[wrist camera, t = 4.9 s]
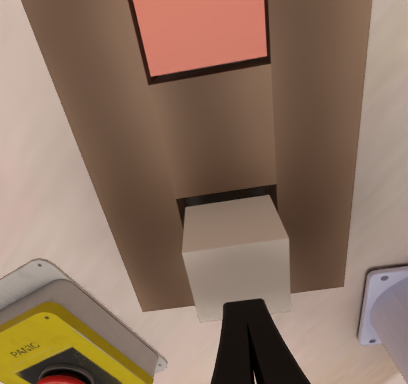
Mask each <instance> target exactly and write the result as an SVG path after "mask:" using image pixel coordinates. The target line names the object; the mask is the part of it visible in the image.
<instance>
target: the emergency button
mask: <svg viewBox="0 0 408 384" xmlns="http://www.w3.org/2000/svg"><path fill="white" fill-rule="evenodd" d="M166 368H167V361H166V359H165V358H164V357H162V356H161V355H160V354H159V353H158V352H157V351H155V350H154V349H153V348H152V347H151V346H150V345H148V344H147V343H146V342H145V341H144V340H143V339H141V338H140V337H139V336H138V335H137V334H136V333H134V332H133V331H132V330H131V329H130V328H129V327H127V326H126V325H125V324H124V323H123V322H122V321H120V320H119V319H118V318H117V317H116V316H115V315H113V314H112V313H111V312H110V311H109V310H108V309H106V308H105V307H104V306H103V305H102V304H101V303H99V302H98V301H97V300H96V299H95V298H94V297H92V296H91V295H90V294H89V293H88V292H87V291H85V290H84V289H83V288H82V287H81V286H79V285H78V284H77V283H76V282H75V281H74V280H72V279H71V278H70V277H69V276H68V275H67V274H65V273H64V272H63V271H62V270H61V269H60V268H58V267H57V266H56V265H55V264H53V263H52V262H50V261H48V260H45V259H40V258H39V259H34V260H32V261H30V262H28V263H27V264H25V265H23V266H21V267H20V268H18V269H16V270H15V271H13V272H11V273H10V274H8V275H6V276H5V277H3V278H1V279H0V382H2V383H4V384H152V383H153V380H154V379H153V377H154V374H155V373H158V372H160V371H163V370H164V369H166Z"/></svg>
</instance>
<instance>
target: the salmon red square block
mask: <svg viewBox="0 0 408 384" xmlns="http://www.w3.org/2000/svg"><path fill="white" fill-rule="evenodd" d="M133 2H134V7H135V11H136V15H137V19H138V24H139V28H140V32H141V36H142V41H143V45H144V49H145V54H146V58H147V62H148V66H149V71H150V75H151V77H152V76H158V75H163V74H169V73H174V72H180V71H186V70H191V69H197V68H203V67H208V66H214V65H219V64H225V63H231V62H236V61H242V60H247V59H253V58H259V57H264V56H267V48H266V29H265V9H264V0H133Z"/></svg>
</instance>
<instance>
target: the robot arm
mask: <svg viewBox="0 0 408 384" xmlns="http://www.w3.org/2000/svg"><path fill="white" fill-rule="evenodd" d="M358 341H359V343H360V344H361V345H374V344H383V345H384V346H385V348H386V350H387V351H388V353H389V355H390V356H391V358H392V360H393V361H394V363H395V365H396V366H397V368H398V369H399V371H400V373H401V374H402V376H403V378H404V379H405V381H406V383H407V384H408V266H404V267H396V268H388V269H381V270H374V271H371V272H370V273H369V274H368V276H367V281H366V287H365V294H364V300H363V307H362V314H361V320H360V327H359V334H358ZM254 374H255V378H256V382H257V384H311V383H310V382H309V381H308V379H307V378H306V376H305V375H304V373H303V371H302V370H301V368H300V367H299V365H298V364H297V362H296V360H295V359H294V357H293V355H292V354H291V352H290V350H289V349H288V347H287V346H286V344H285V342H284V340H283V339H282V337H281V335H280V333H279V331H278V329H277V328H276V326H275V324H274V322H273V320H272V318H271V316H270V313H269V311H268V309H267V306H266V304H265V301H264V300H263V299H261V298H258V299H250V300H242V301H234V302H226V303H225V304H224V305H223V319H222V329H221V336H220V343H219V348H218V353H217V358H216V363H215V368H214V372H213V376H212V380H211V384H255V382H254Z"/></svg>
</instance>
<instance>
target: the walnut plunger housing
mask: <svg viewBox="0 0 408 384" xmlns="http://www.w3.org/2000/svg"><path fill="white" fill-rule="evenodd" d="M21 2H22V4H23V7H24V9H25V12H26V14H27V17H28V19H29V22H30V25H31V27H32V30H33V32H34V35H35V37H36V40H37V42H38V45H39V48H40V50H41V53H42V55H43V58H44V60H45V63H46V66H47V68H48V71H49V73H50V76H51V78H52V81H53V83H54V86H55V89H56V91H57V94H58V96H59V99H60V101H61V104H62V106H63V109H64V112H65V114H66V117H67V119H68V122H69V124H70V127H71V129H72V132H73V135H74V137H75V140H76V142H77V145H78V147H79V150H80V152H81V155H82V158H83V160H84V163H85V165H86V168H87V170H88V173H89V176H90V178H91V181H92V183H93V186H94V188H95V191H96V193H97V196H98V199H99V201H100V204H101V206H102V209H103V211H104V214H105V216H106V219H107V222H108V224H109V227H110V229H111V232H112V234H113V237H114V239H115V242H116V245H117V247H118V250H119V252H120V255H121V257H122V260H123V262H124V265H125V268H126V270H127V273H128V275H129V278H130V280H131V283H132V285H133V288H134V291H135V293H136V296H137V298H138V301H139V303H140V306H141V309H142V311H143V312H147V311H155V310H163V309H171V308H178V307H186V306H194V305H195V302H194V299H193V295H192V291H191V287H190V283H189V279H188V275H187V271H186V267H185V264H184V260H183V256H182V244H183V231H184V219H185V207H187V204H186V200H185V198H186V197H193V196H200V195H206V194H213V193H220V192H226V191H233V190H240V189H246V188H253V187H260V186H265V188H266V195H270V197H271V199H272V202H273V204H274V206H275V208H276V211H277V213H278V215H279V217H280V219H281V222H282V224H283V226H284V228H285V230H286V233H287V235H288V237H289V258H290V293H298V292H305V291H313V290H321V289H329V288H337V287H344V279H345V269H346V259H347V249H348V239H349V229H350V219H351V209H352V199H353V189H354V178H355V168H356V158H357V148H358V138H359V128H360V118H361V108H362V98H363V88H364V78H365V68H366V58H367V48H368V38H369V28H370V18H371V8H372V0H264V9H265V29H266V48H267V56H264V57H259V58H257V59H253V60H247V61H242V62H236V63H231V64H225V65H219V66H214V67H208V68H202V69H197V70H191V71H186V72H180V73H174V74H169V75H163V76H152V77H151V75H150V71H149V66H148V62H147V58H146V54H145V49H144V45H143V41H142V36H141V32H140V28H139V24H138V19H137V15H136V11H135V7H134V2H133V0H21Z"/></svg>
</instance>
